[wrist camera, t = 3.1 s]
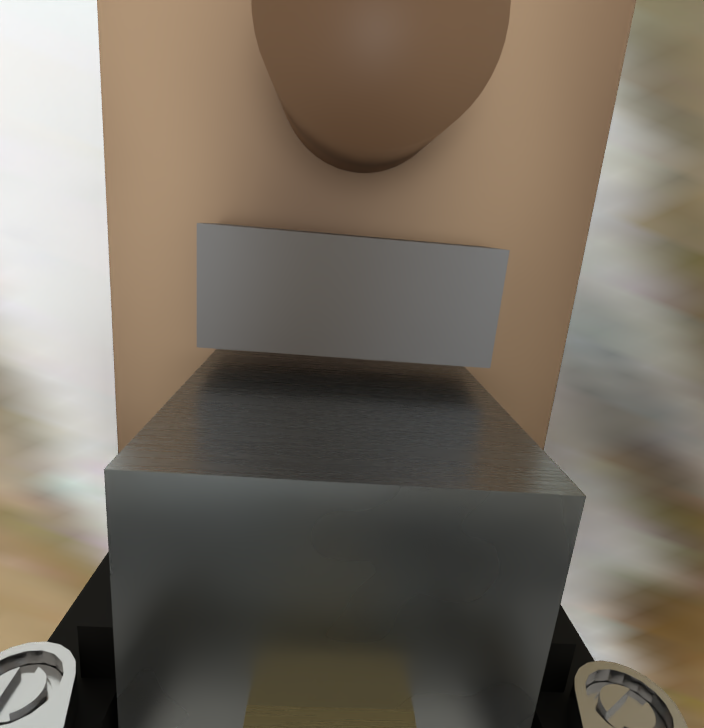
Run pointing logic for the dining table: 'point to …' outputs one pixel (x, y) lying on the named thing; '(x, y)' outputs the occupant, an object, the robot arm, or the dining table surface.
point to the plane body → (352, 184)
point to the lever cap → (334, 550)
